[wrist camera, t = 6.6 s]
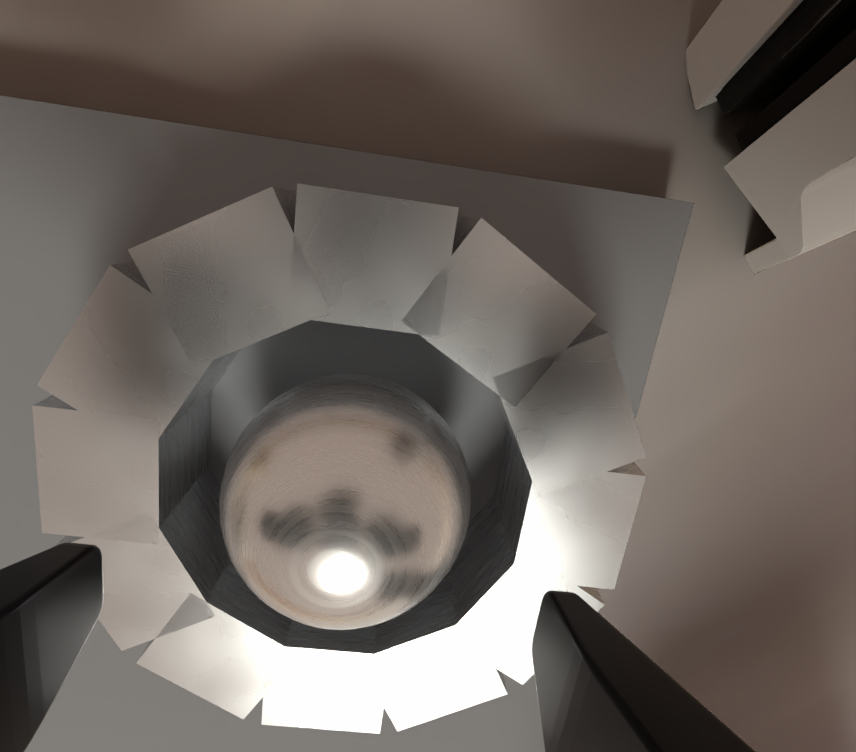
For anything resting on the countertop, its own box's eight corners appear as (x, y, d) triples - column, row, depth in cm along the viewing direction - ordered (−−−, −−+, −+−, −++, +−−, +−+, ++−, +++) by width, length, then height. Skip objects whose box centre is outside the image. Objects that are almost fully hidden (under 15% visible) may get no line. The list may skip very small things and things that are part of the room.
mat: (525, 751, 16) (534, 792, 15) (-218, 695, 15) (-272, 735, 13) (665, 204, 12) (693, 202, 10) (-391, 41, 10) (-493, 19, 9)
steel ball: (442, 540, 13) (461, 705, 8) (253, 522, 12) (173, 684, 8) (473, 362, 11) (514, 450, 7) (263, 335, 11) (176, 410, 7)
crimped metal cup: (540, 653, 14) (568, 748, 11) (121, 616, 13) (55, 709, 10) (644, 238, 11) (712, 245, 8) (107, 158, 10) (11, 140, 7)
